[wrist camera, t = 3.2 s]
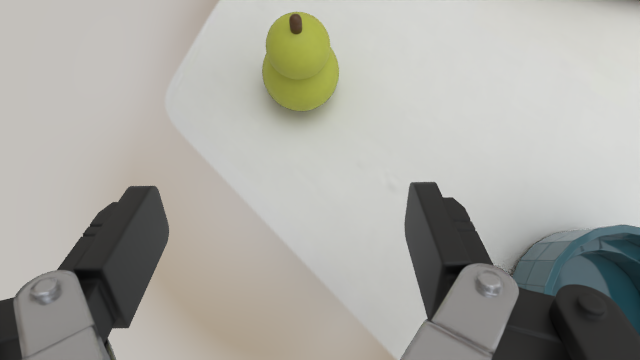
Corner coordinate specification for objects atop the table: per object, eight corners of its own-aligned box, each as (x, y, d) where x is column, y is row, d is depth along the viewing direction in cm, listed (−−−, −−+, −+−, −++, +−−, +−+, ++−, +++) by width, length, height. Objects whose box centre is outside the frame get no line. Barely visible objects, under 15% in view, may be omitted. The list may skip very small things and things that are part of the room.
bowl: (557, 419, 26) (611, 456, 22) (475, 271, 28) (508, 274, 23) (688, 345, 27) (768, 363, 22) (601, 206, 29) (658, 195, 24)
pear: (285, 133, 30) (270, 77, 21) (256, 73, 31) (230, -4, 22) (349, 103, 31) (361, 37, 22) (318, 45, 32) (318, -42, 23)
